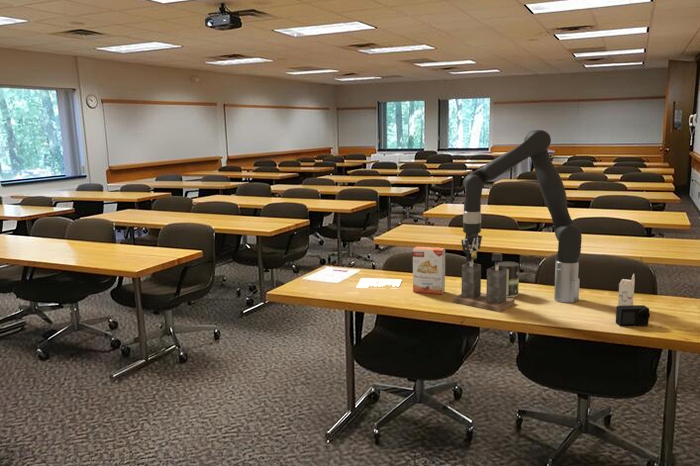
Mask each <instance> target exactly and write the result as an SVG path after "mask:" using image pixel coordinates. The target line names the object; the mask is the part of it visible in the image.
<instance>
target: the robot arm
mask: <svg viewBox="0 0 700 466" xmlns="http://www.w3.org/2000/svg"><path fill="white" fill-rule="evenodd" d="M551 141H552V139H551V135H550V133H548V131H545V130H543V129H534V130H531V131H528V132H527V133H526V135H525V136H524V140H523V142H522V143H520V144H519V145H517V146H516V147H514V148H513V149H511V150H509V151H506V152H505V153H504V154H501V155H499V156H498V157H495V158H494V159H492V160H491V161H489V162H487V163H486V164H485V165H484V166H482V167H480V168H478V169H476V170H475V171H472V172H470V173H469V174H467V175H466V176H465V177H464V179H463V180H462V184H463V185H462V186H463V188H465V198H464V200H463V202H464V203H463V216H462V232H463V233H464V234H465V236H464V239H461V241H460V242H461V246H462V252H463V253H465V256H466V257H465V262H467V263H470V262H471V260H472V250H476V258H474V259H473V261H476V260H477V259H478V250H480V249H481V243H482V239H483V236H482V235H479V234H480V233H481V232H482V212H481V210H482V202H481V200H482V196H483V195H482V193H483V185H484V184H486V183H487V182H489V181H493V180H495V179H497V178H498V177H500V176H501V175H503V174H504V173H506V172H508V171H509V170H510V169H512V168H513V167H515V166H516V165H518V164H520V163H521V162H523V161H525V160H526V159H529V158H530V161H531V162H532V164H533V167H534V171H535V176H536V179H537V182H538V186H539V189H540V192H541V194H542V198H543V200H544V203H545V206H546V207H547V210H548V212H549V214H550V217H551V222H552V226H553V230H554V234H555V237H556V239H557V242H558V243H557V245H558V246H557V253H556V255H555V269H554V296H553V297H554V298H553V299H554V300H555V301H557V302H561V303H570V304H571V303H572V304H573V303H576V302H577V301H579V298H580V297H579V296H580V280H581V279H580V278H579V265H580V264H579V263H580V262H579V260H580V257H581V253H582V252H581V251H582V240H583V239H582V232H581V230H580V229H579V228H578V227H577V226H576V225H575V224H574V222H573V220H572V218H571V214H570V212H569V209H568V208H569V207H568V200H567V193H566V192H567V191H566V189H565V186H564V182H563V179H562V177H561V175H560V174H559V172H558V169H557V168H556V167H555V165H554V164H553V162H552V159H551V158H550V155H549V151H548V148H549V147H550V145H551Z"/></svg>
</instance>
